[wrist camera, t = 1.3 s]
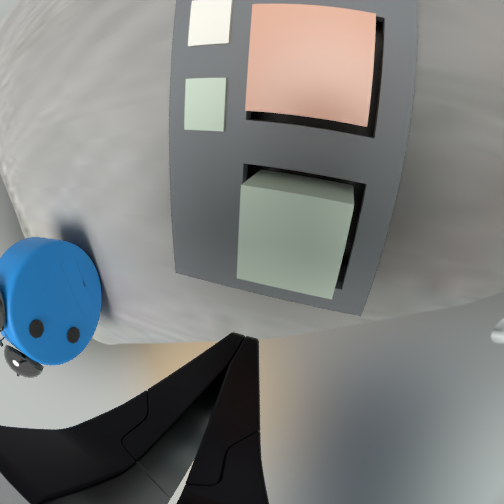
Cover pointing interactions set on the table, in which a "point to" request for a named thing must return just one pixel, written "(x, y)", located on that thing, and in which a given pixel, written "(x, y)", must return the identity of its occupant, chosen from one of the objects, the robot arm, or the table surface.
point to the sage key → (293, 231)
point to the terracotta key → (311, 61)
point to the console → (276, 143)
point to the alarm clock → (47, 303)
